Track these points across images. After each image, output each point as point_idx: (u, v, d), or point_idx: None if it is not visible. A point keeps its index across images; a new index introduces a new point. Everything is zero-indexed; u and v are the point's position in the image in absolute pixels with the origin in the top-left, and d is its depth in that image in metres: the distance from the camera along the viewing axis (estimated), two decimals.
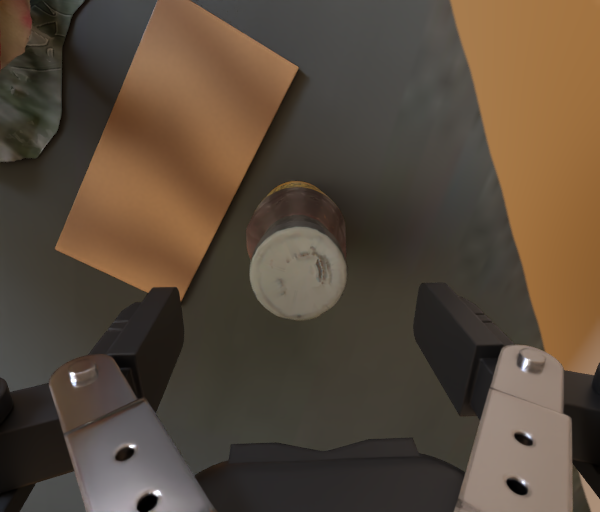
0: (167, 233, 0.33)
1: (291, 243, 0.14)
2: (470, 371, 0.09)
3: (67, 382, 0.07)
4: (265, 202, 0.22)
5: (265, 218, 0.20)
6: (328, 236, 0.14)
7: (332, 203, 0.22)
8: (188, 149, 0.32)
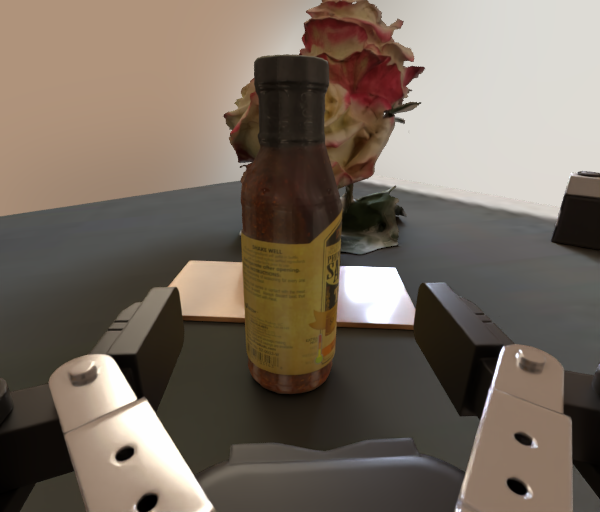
0: (224, 295, 0.35)
1: None
2: (470, 371, 0.09)
3: (67, 382, 0.07)
4: None
5: None
6: (327, 63, 0.19)
7: (339, 205, 0.21)
8: None
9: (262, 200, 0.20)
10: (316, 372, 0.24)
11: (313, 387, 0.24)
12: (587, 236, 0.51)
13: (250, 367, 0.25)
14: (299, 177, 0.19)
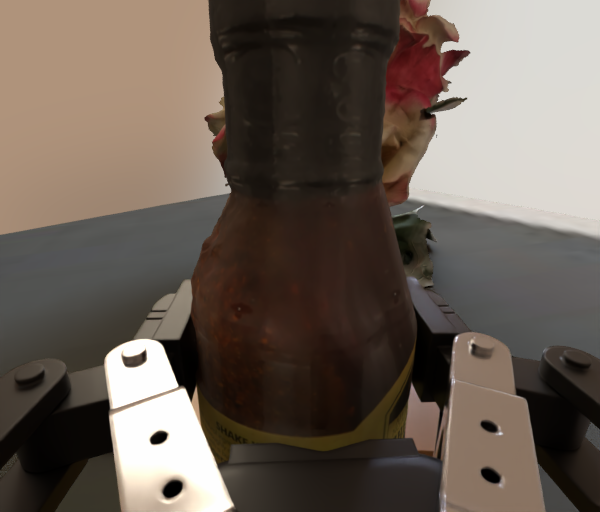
0: (196, 391, 0.23)
1: None
2: (428, 358, 0.09)
3: (121, 363, 0.08)
4: None
5: None
6: None
7: (414, 318, 0.09)
8: None
9: (233, 334, 0.08)
10: None
11: None
12: None
13: None
14: (329, 278, 0.07)
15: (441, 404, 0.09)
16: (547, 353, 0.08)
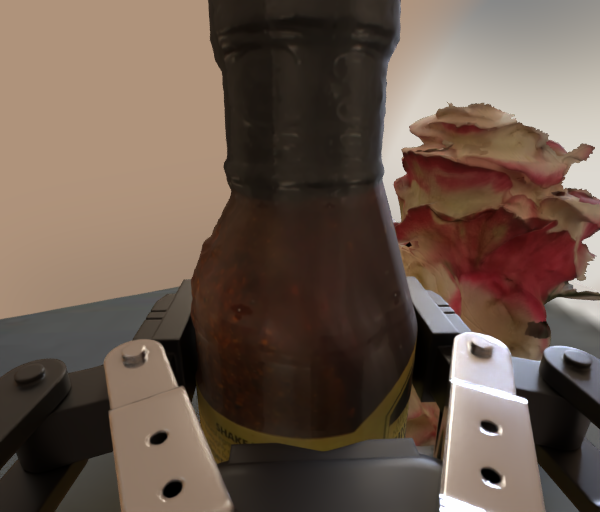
0: None
1: None
2: (428, 358, 0.09)
3: (121, 363, 0.08)
4: None
5: None
6: None
7: (414, 319, 0.09)
8: None
9: (233, 336, 0.08)
10: None
11: None
12: None
13: None
14: (329, 280, 0.07)
15: (441, 404, 0.09)
16: (547, 353, 0.08)
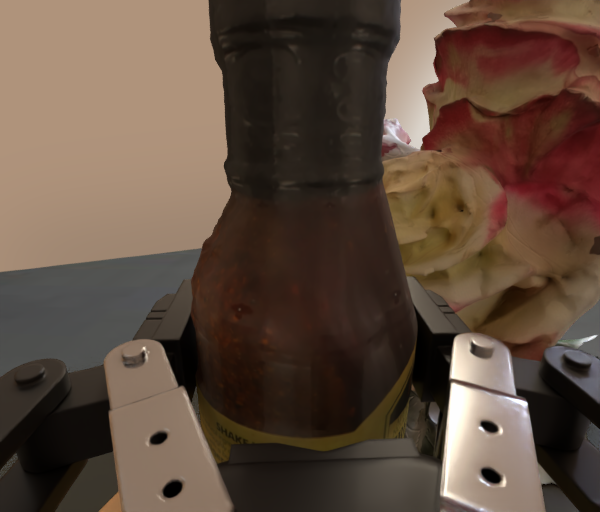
0: None
1: None
2: (428, 358, 0.09)
3: (121, 363, 0.08)
4: None
5: None
6: None
7: (414, 319, 0.09)
8: None
9: (233, 335, 0.08)
10: None
11: None
12: None
13: None
14: (329, 279, 0.07)
15: (441, 404, 0.09)
16: (547, 353, 0.08)
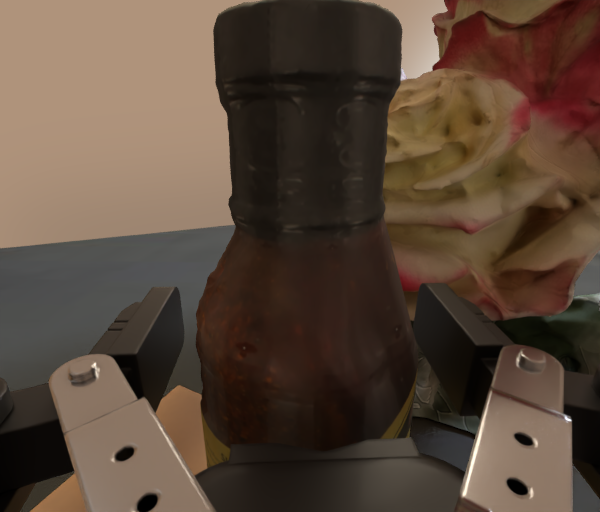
0: None
1: None
2: (470, 371, 0.09)
3: (67, 382, 0.07)
4: None
5: None
6: None
7: (415, 350, 0.10)
8: None
9: (238, 372, 0.08)
10: None
11: None
12: None
13: None
14: (331, 319, 0.08)
15: None
16: None
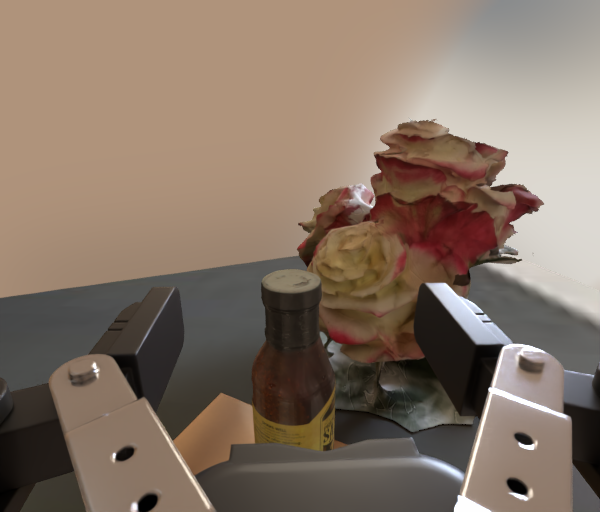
0: None
1: (306, 274, 0.25)
2: (470, 371, 0.09)
3: (67, 382, 0.07)
4: None
5: None
6: (320, 283, 0.24)
7: (333, 383, 0.26)
8: None
9: (269, 393, 0.24)
10: None
11: None
12: None
13: None
14: (299, 376, 0.24)
15: None
16: None
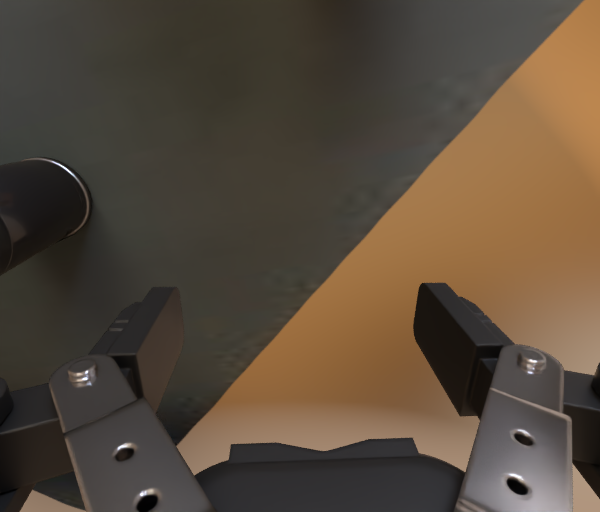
0: None
1: None
2: (470, 371, 0.09)
3: (67, 382, 0.07)
4: None
5: None
6: None
7: None
8: None
9: None
10: None
11: None
12: None
13: None
14: None
15: None
16: None
